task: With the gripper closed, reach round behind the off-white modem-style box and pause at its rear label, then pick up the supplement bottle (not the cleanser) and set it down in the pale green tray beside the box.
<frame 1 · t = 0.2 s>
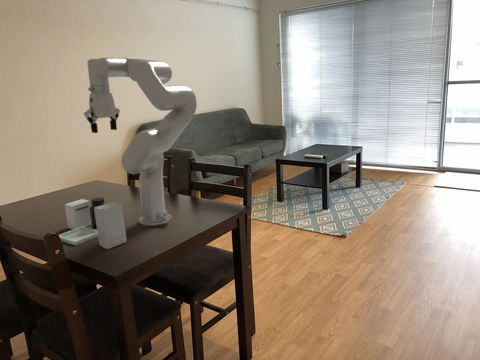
hand: (104, 131, 172), 36 cm above the table, tool pointing down, fingers open, 9 cm apart
skincare box: (113, 244, 146), on the table
supplement bottle: (101, 227, 163), on the table
tray: (79, 237, 153), on the table
unit: (80, 225, 165), on the table
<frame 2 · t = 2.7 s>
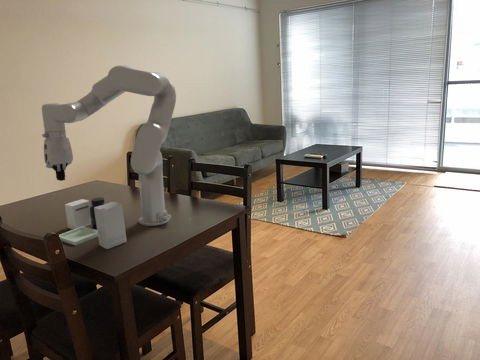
hand: (61, 179, 165), 18 cm above the table, tool pointing down, fingers closed
nothing on the table moved.
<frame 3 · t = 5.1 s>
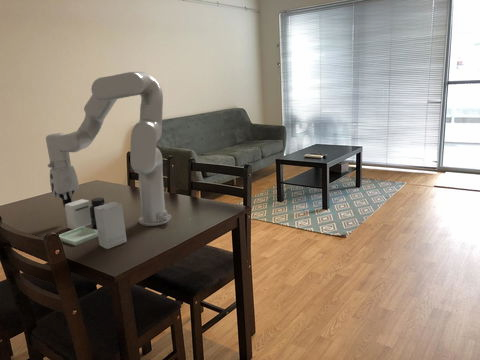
hand: (68, 207, 168), 7 cm above the table, tool pointing down, fingers closed
nothing on the table moved.
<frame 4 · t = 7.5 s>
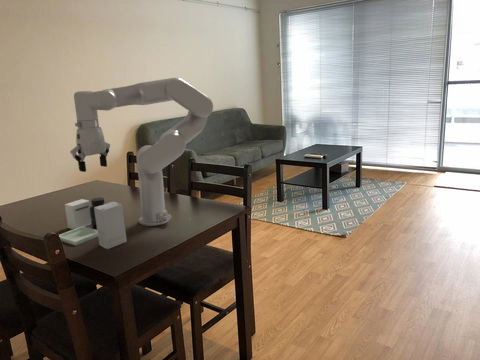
hand: (93, 168, 157), 24 cm above the table, tool pointing down, fingers open, 9 cm apart
nothing on the table moved.
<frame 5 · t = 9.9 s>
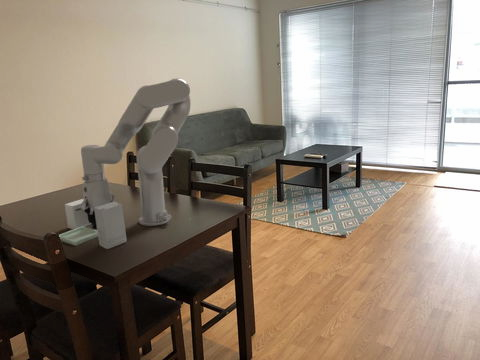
hand: (99, 219, 162), 3 cm above the table, tool pointing down, fingers closed on supplement bottle, 6 cm apart
supplement bottle: (100, 227, 163), on the table, touching gripper
everything else where it was.
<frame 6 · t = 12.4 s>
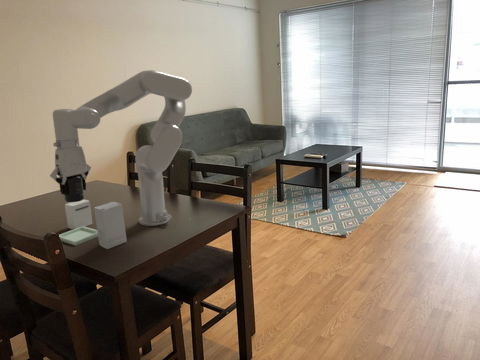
hand: (73, 191, 149), 18 cm above the table, tool pointing down, fingers closed on supplement bottle, 6 cm apart
supplement bottle: (74, 200, 150), point 15 cm above the table, touching gripper
everything else where it was.
when the fingers open (6 cm above the table, at t = 15.3 s): supplement bottle drops 2 cm, resting on tray.
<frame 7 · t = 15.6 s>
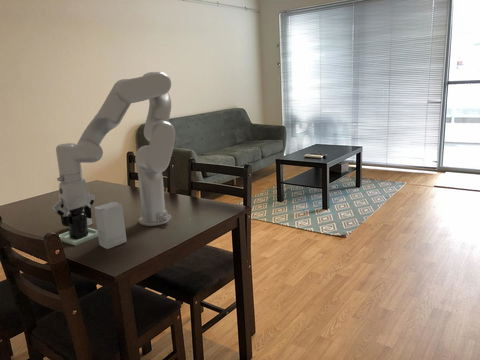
hand: (77, 221, 152), 6 cm above the table, tool pointing down, fingers open, 9 cm apart
supplement bottle: (79, 236, 153), resting on tray
everything else where it was.
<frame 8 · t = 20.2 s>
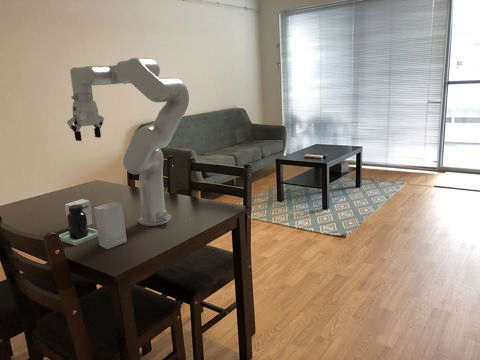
hand: (88, 139, 172), 33 cm above the table, tool pointing down, fingers open, 9 cm apart
nothing on the table moved.
at the end: supplement bottle inside the target area on the tray (0.1 cm from its centre), point 0.3 cm above the tray's base; supplement bottle tilted 0°; the gripper is holding nothing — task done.
